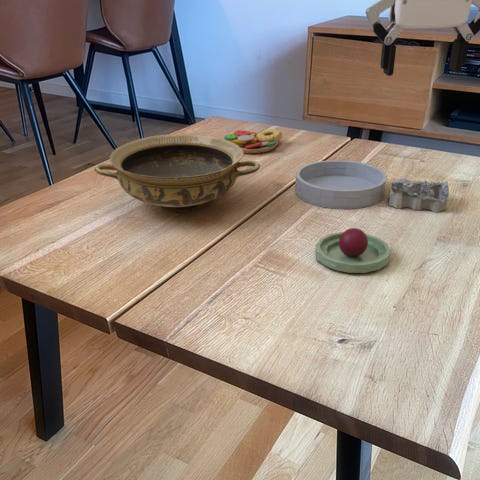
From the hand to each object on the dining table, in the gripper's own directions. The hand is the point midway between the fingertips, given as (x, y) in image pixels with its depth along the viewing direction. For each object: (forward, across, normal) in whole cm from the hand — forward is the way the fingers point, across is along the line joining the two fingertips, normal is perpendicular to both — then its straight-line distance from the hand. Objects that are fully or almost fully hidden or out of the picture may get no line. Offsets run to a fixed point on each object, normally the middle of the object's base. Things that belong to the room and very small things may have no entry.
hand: (421, 72), depth 80 cm
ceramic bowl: (+24, +38, -14) cm, 47 cm away
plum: (+22, +10, +9) cm, 26 cm away
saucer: (+25, +10, +9) cm, 28 cm away
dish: (+25, +7, -19) cm, 32 cm away
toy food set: (+25, +23, -50) cm, 60 cm away
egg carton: (+26, -6, -12) cm, 29 cm away
